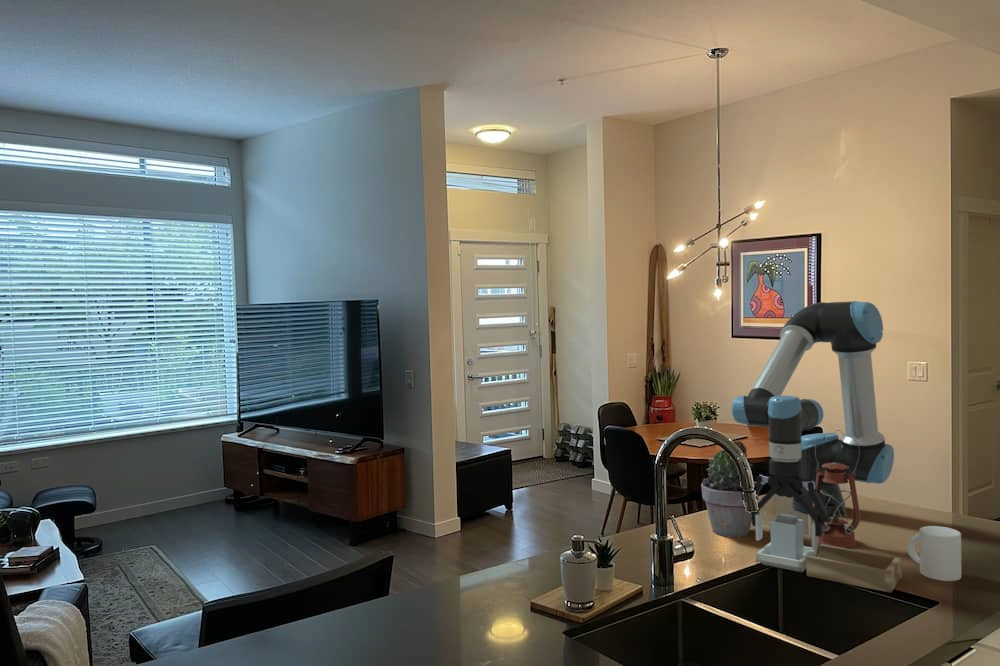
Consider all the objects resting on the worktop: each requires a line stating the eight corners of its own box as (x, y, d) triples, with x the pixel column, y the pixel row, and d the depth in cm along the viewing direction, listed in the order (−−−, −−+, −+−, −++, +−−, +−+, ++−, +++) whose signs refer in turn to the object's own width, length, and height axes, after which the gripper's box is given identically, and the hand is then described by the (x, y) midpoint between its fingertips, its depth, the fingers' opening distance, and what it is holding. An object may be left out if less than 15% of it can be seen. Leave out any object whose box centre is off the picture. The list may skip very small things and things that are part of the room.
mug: (945, 538, 165) (897, 525, 176) (946, 584, 165) (897, 567, 176) (969, 532, 169) (919, 519, 179) (969, 577, 169) (920, 561, 180)
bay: (820, 562, 181) (820, 543, 181) (901, 577, 170) (901, 557, 170) (806, 575, 173) (806, 556, 172) (890, 592, 161) (890, 572, 161)
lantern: (848, 535, 201) (847, 426, 200) (863, 548, 191) (862, 433, 190) (811, 535, 202) (810, 427, 201) (824, 547, 192) (822, 433, 191)
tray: (772, 550, 191) (772, 540, 191) (817, 558, 184) (816, 548, 184) (756, 563, 182) (755, 553, 182) (802, 572, 175) (802, 561, 175)
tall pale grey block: (779, 550, 187) (778, 511, 187) (803, 555, 184) (803, 515, 183) (770, 557, 183) (770, 517, 182) (795, 562, 179) (795, 521, 179)
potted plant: (694, 541, 200) (693, 449, 199) (698, 520, 219) (697, 437, 218) (765, 546, 194) (763, 452, 193) (763, 524, 213) (762, 439, 212)
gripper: (730, 456, 187) (731, 538, 188) (834, 467, 171) (835, 557, 172) (741, 451, 193) (742, 531, 194) (843, 461, 177) (844, 548, 178)
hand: (786, 544), depth 183 cm, fingers open, 13 cm apart
